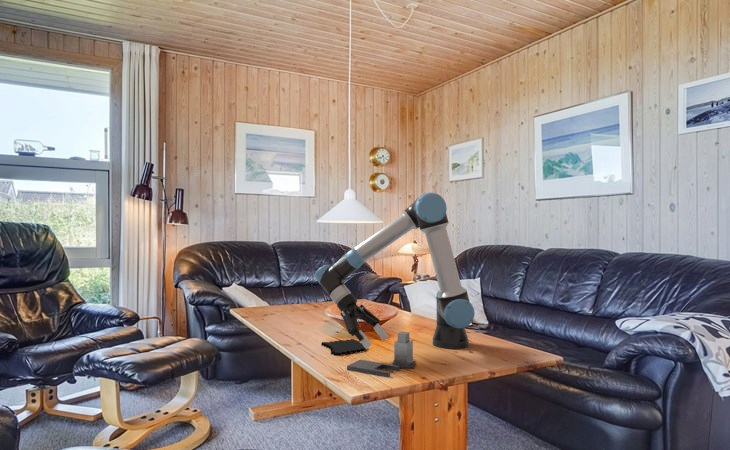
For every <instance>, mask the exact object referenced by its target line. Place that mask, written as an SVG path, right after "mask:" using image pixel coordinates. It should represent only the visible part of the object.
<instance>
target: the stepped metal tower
mask: <svg viewBox="0 0 730 450" xmlns="http://www.w3.org/2000/svg"><path fill="white" fill-rule="evenodd" d="M393 345H394V346H393V348H394V349H393V350H394V352H393V353H394V358H393V361H394V364H396V365H403V366H408V365H410V364H411V363H413V361H414V347H413V346H414V341H413V340H411V339H410V332H408V331H400V332H397V340H395V341H394V344H393Z"/></svg>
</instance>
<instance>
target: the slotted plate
mask: <svg viewBox="0 0 730 450" xmlns="http://www.w3.org/2000/svg"><path fill="white" fill-rule="evenodd" d="M382 369H384V370H382ZM346 370H347V371H352V372H358V373H363V374H369V375H374V376H378V377H386V378H389V377H391V371H396V372H399V371H401V368H400V366H397V365H392V364H390V363H383V362H378V361H372V360H367V359H359V360H356V361H354V362H352V363H350V364H348V365H346ZM387 370H390V371H387Z"/></svg>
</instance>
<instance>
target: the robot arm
mask: <svg viewBox="0 0 730 450" xmlns="http://www.w3.org/2000/svg"><path fill="white" fill-rule="evenodd" d="M447 206H448V205H447V203H446V200H445V199H444V198H443V197H442V196H441V195H440V194H438V193H436V192H426V193H423V194H421V195H419V196H418V197H417V198H416V199H415V200H414V202H413V203H412V204H410V205H409V206H408V207H407V208H405V209H404V210H402V214H401V215H399V216H398V217H396V218H395V219H394V220H392V221H391V222H389V223H388V224H386V225H385V226H384V227H382V228H380V229H379V230H378V231H376V232H375V233H374V234H372V235H371V236H369V237H368V238H366V239H365V240H363V241H362V242H360V243H359V244H358V245H356V246H355V247H353V248H352V249H350V250H349V251H347V252H346V253H345V254H343V255H342V256H341V258H339V259H338V260H337V261H336V262H335V263H334V264H332V265H329V264H324V265H322V266H321V267H319V268H318V269H317V270H316V271H315V273H314V277H315V278H316V281H317V282H318V284H319V286H321V288H322V289H323V290H324V291H325V292H326V293H327V295H328V296H329V297H330V299H331V301H332V302H333V303H334V305H336V307H337V308H338V309H339V311H340V316H341V318H342V319H343V321H344V325H345V328H346V329H347V332H348V334H349V335H350V336H351V337H354V336H355V337H356V338H357V341H360V343H362V345H363V346H364V347H365V349H366V350H368V349H369V348H370V346H372V342H370V340H369V339H368V337H367V336H366V335H365V333H364V332H363V331H362V329H359V325H358V320H361V321H363V322H365V323H367V324H369V325H370V326H372V327H373V330H374V331H375V333H377V335H378V337H379V338H380V339H381V340H382V341H383V342H385V341H386V340H387V339H388V338H389V335H388V334H387V332H386V331H385V330H384V328H382V326H381V325H380V324H379V323H380V322H381V320H380V318H378V317H377V316H376V315H374V314H373V313H372V312H371V311H370V310H368V309H367V308H366V306H364V305H363V304H360V305H358V304H357V302H358V300H357V298H356V296H354V294H353V293H352V292H351V291H350V289H349V288H348V287H347V286H346V284H345V283H344V281H345V280H346V279H348V278H349V276H351V275H352V274H353V273H355V272H356V271H358V269H360V268H361V267H362V265H364V263H366V262H367V261H368V260H370V259H371V258H373V257H374V256H375V255H377V254H379V253H380V252H381V251H383V250H384V249H386V248H387V247H388V246H390V245H391V244H393V243H394V242H396V241H398V240H399V239H400V238H401V237H403V236H405V235H406V234H408V233H409V232H410V231H412V230H417V229H419V231H421V232H423V233H424V234H425V239H426V242H427V245H428V250H429V253H430V257H431V261H432V266H433V268H434V273H435V276H436V280H437V284H438V287H439V290H438V291H437V292H436V297H435V300H436V327H435V329H434V333H433V336H432V345H433V346H434V347H437V348H441V349H442V348H443V349H450V350H451V349H452V350H454V349H455V350H456V349H458V350H459V349H465V348H468V347H469V346H470V345H469V337H468V334H467V332H466V331H467V330H466V327H468V326H470V325H471V323H472V322H473V321H474V320H475V314H476V313H475V307H474V306H473V304H472V303H471V302H470V298H469V293H468V291H467V289H466V288H465V287H463V286H462V283H461V279H460V276H459V271H458V269H457V268H458V267H457V264H456V260H455V257H454V252H453V250H452V245H451V241H450V237H449V234H448V229H447V227H448V225H449V219H448V216H447V215H448V214H447V210H448V207H447Z"/></svg>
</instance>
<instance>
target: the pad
mask: <svg viewBox="0 0 730 450" xmlns="http://www.w3.org/2000/svg"><path fill="white" fill-rule="evenodd" d="M391 365H396V364H394V360H393V361H392V364H391ZM397 366H400V369H404V370H405V369H406V370H407V369H408V370H414V369H415V367H416V360H413V363H411V364H410V365H408V366H403V365H397Z"/></svg>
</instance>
